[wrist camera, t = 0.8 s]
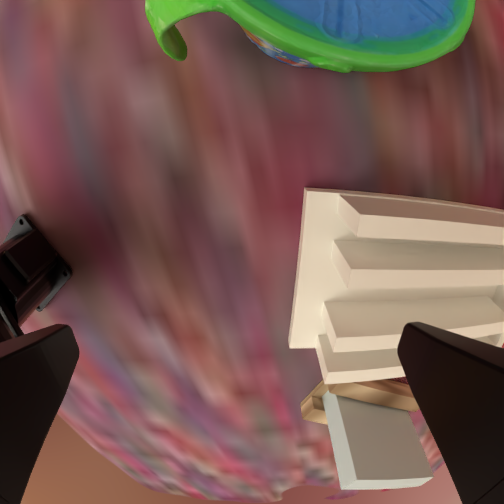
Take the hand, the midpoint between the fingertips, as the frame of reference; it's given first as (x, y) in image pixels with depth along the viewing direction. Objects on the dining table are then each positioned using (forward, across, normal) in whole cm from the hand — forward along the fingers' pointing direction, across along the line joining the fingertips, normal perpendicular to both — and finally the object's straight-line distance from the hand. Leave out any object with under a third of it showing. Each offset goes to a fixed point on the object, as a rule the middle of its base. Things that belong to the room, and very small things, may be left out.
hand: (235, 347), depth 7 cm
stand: (+13, +12, -19) cm, 26 cm away
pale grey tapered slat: (+8, +12, -19) cm, 24 cm away
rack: (+13, +14, -5) cm, 20 cm away
